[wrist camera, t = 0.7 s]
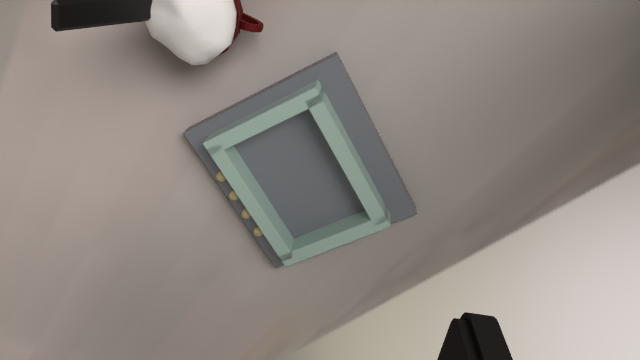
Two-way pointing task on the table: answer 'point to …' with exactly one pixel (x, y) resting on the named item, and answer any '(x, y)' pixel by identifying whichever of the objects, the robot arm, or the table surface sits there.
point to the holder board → (303, 164)
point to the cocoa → (165, 22)
